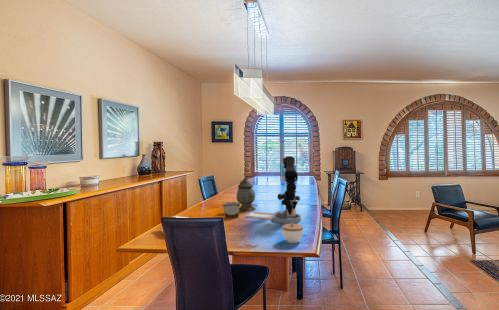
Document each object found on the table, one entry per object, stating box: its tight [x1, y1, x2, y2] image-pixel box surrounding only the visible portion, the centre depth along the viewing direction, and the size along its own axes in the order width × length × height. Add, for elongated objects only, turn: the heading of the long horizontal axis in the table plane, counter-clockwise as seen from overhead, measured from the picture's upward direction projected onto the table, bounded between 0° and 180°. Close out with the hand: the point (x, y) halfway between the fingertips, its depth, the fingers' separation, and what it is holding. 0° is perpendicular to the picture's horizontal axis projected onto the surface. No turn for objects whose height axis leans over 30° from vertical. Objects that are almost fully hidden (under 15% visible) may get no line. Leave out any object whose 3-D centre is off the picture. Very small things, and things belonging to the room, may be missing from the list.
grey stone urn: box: [236, 177, 257, 212], centre depth 233 cm, size 14×14×25 cm
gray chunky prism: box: [277, 211, 287, 219], centre depth 200 cm, size 4×4×4 cm
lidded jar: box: [281, 223, 304, 244], centre depth 155 cm, size 11×11×9 cm
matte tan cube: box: [287, 208, 297, 217], centre depth 197 cm, size 4×4×4 cm
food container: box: [222, 201, 241, 219], centre depth 211 cm, size 12×6×10 cm, turn 84°
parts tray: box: [244, 211, 277, 221], centre depth 210 cm, size 13×19×2 cm
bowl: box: [272, 213, 302, 224], centre depth 198 cm, size 18×18×3 cm
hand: (291, 213), depth 197 cm, fingers closed on matte tan cube, 4 cm apart
